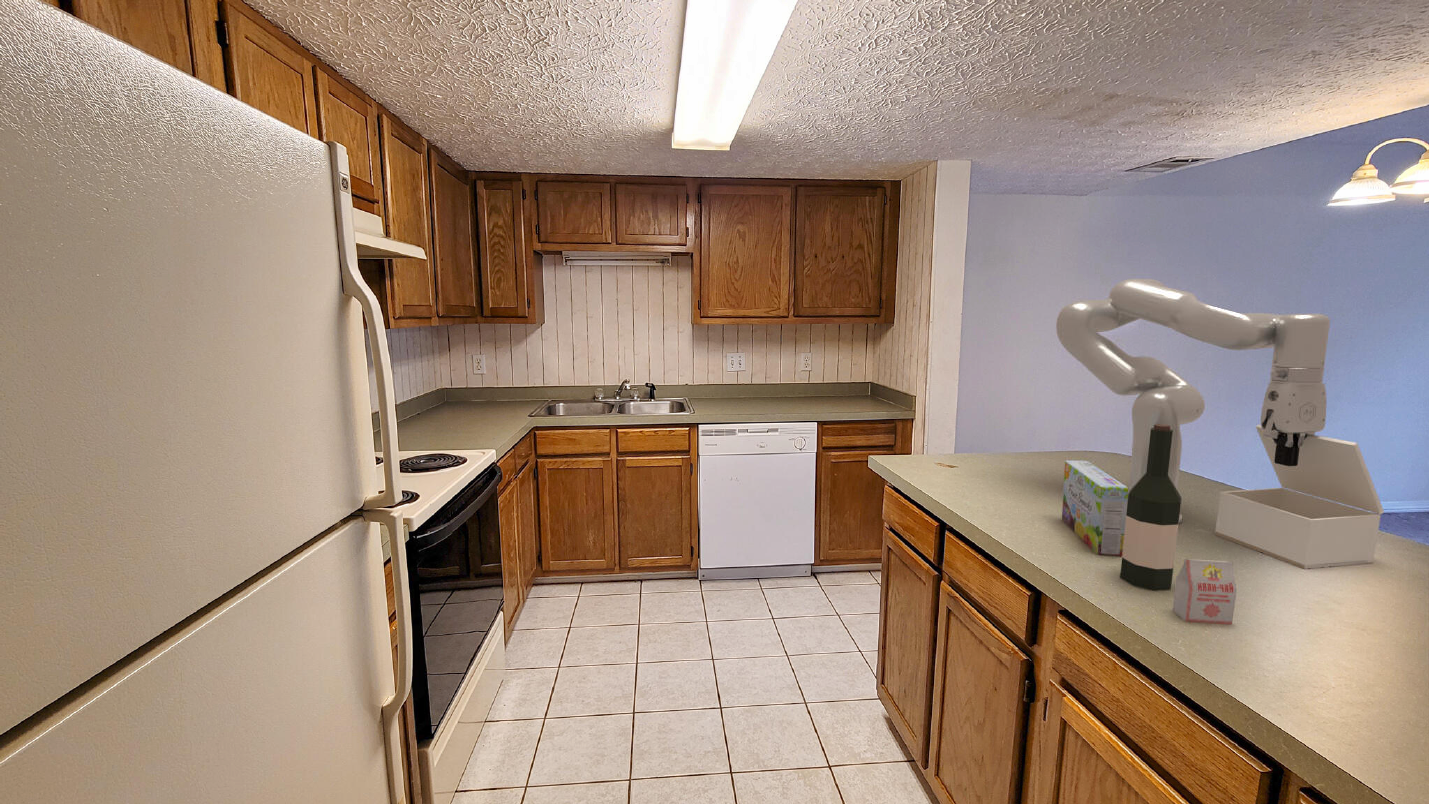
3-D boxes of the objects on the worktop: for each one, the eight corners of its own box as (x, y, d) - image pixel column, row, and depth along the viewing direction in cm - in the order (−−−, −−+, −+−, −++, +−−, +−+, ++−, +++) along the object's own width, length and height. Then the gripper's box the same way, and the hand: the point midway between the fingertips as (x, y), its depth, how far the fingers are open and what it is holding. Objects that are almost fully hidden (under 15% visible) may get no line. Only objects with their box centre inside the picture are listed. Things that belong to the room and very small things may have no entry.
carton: (1304, 569, 116) (1311, 520, 114) (1214, 534, 133) (1220, 491, 132) (1372, 563, 118) (1380, 515, 116) (1275, 529, 135) (1281, 487, 134)
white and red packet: (1172, 610, 101) (1179, 554, 100) (1217, 613, 100) (1224, 557, 98) (1185, 621, 98) (1192, 564, 96) (1231, 624, 96) (1239, 566, 95)
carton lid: (1353, 445, 113) (1357, 442, 113) (1255, 426, 130) (1258, 424, 130) (1380, 514, 116) (1384, 512, 116) (1281, 487, 134) (1284, 485, 134)
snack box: (1058, 519, 144) (1063, 459, 142) (1084, 521, 143) (1089, 460, 140) (1095, 555, 123) (1101, 485, 121) (1125, 557, 122) (1132, 486, 120)
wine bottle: (1158, 595, 106) (1176, 431, 101) (1109, 576, 114) (1124, 423, 109) (1182, 584, 110) (1201, 426, 105) (1134, 567, 117) (1149, 419, 112)
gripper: (1283, 379, 114) (1273, 471, 117) (1350, 376, 116) (1338, 467, 119) (1244, 375, 122) (1235, 462, 124) (1307, 372, 124) (1297, 458, 126)
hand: (1285, 464), depth 122 cm, fingers closed
